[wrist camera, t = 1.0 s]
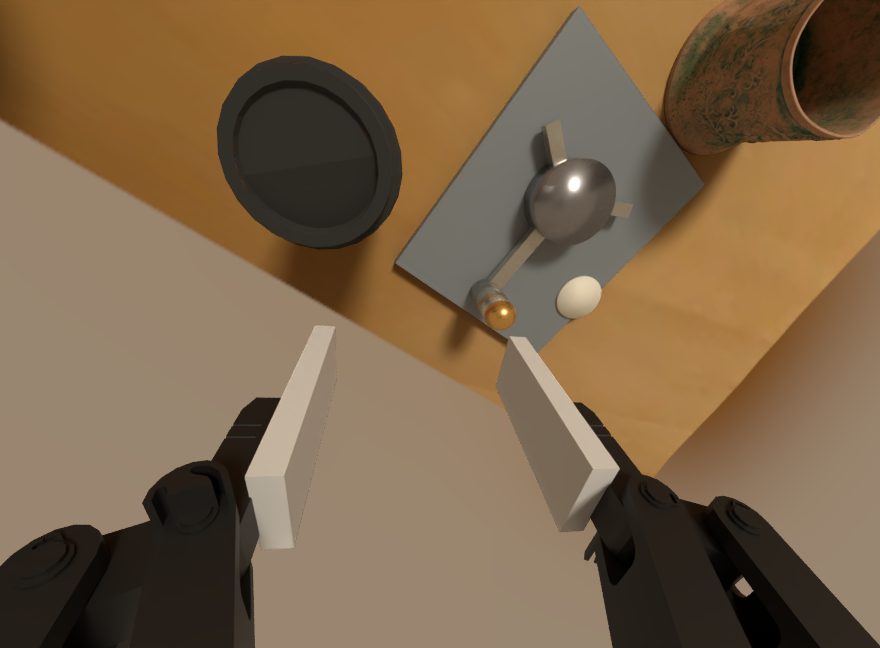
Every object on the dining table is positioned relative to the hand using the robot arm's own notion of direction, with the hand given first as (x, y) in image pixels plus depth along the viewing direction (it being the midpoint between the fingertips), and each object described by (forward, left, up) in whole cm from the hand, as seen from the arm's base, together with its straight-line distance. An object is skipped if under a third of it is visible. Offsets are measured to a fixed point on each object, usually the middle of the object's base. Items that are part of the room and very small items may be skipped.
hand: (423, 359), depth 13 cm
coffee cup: (-8, +3, -20) cm, 22 cm away
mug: (+13, +31, -20) cm, 39 cm away
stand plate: (+10, +10, -20) cm, 25 cm away
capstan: (+9, +8, -19) cm, 22 cm away
